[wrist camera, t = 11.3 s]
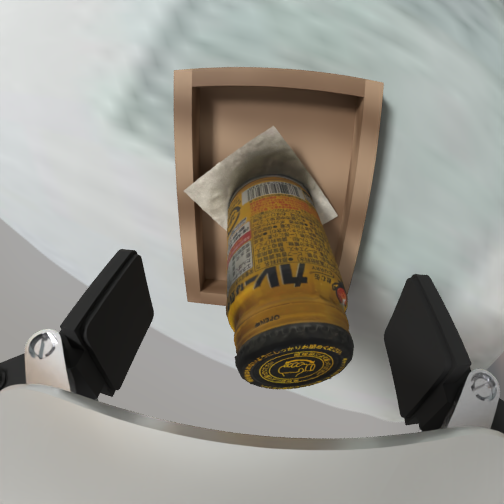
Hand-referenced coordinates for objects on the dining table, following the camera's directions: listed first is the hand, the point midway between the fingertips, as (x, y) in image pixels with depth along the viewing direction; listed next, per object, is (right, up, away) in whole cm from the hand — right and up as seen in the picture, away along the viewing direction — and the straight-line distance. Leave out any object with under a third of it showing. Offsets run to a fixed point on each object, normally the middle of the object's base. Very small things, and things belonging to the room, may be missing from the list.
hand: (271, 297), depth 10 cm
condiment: (0, +5, +10) cm, 12 cm away
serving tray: (+1, +6, +12) cm, 13 cm away
